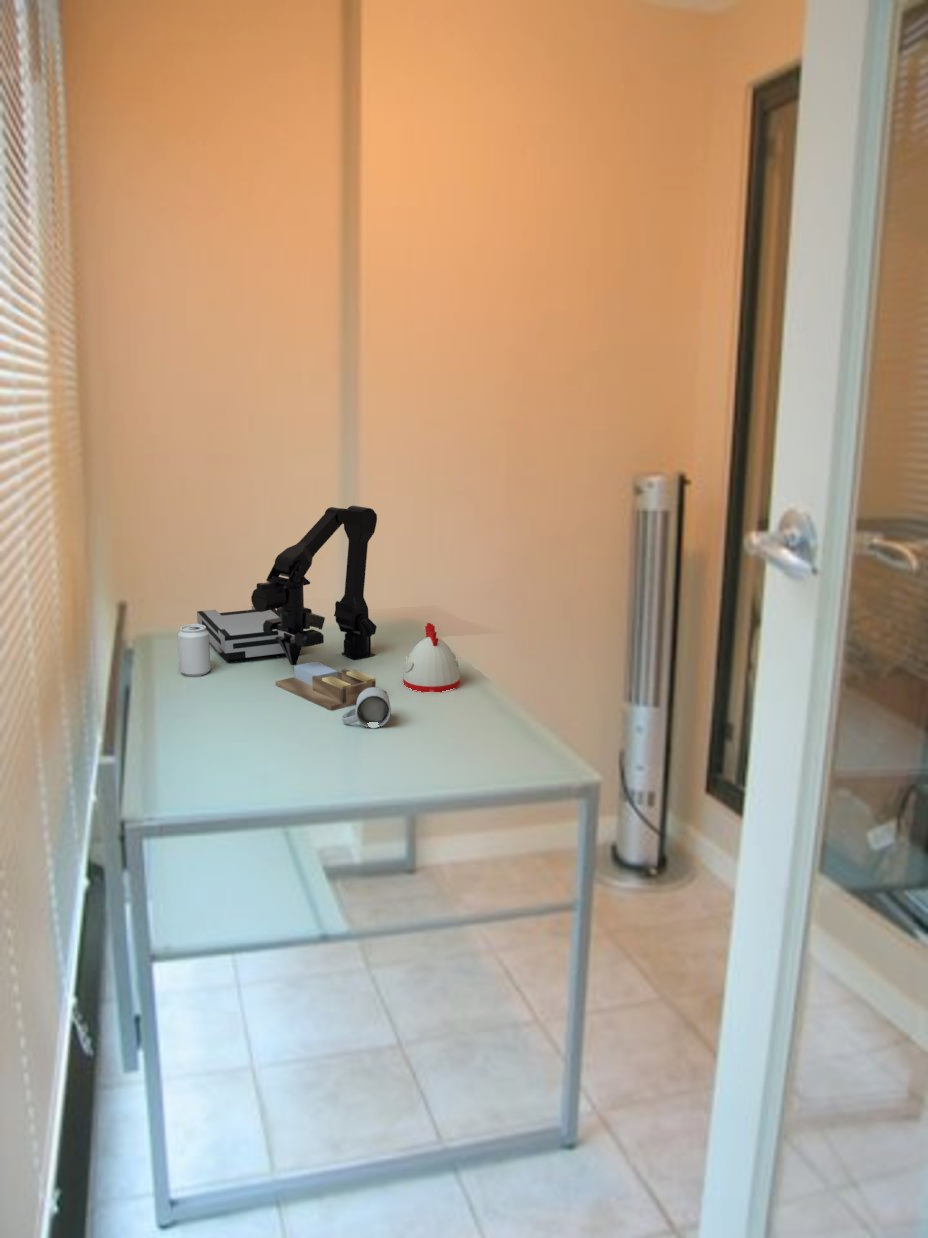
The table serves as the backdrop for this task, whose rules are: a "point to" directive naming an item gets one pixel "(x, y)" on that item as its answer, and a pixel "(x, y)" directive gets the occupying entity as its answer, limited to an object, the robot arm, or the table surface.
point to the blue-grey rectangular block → (313, 671)
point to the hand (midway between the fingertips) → (293, 665)
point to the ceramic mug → (369, 708)
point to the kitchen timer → (431, 665)
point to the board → (331, 688)
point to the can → (194, 650)
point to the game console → (241, 634)
